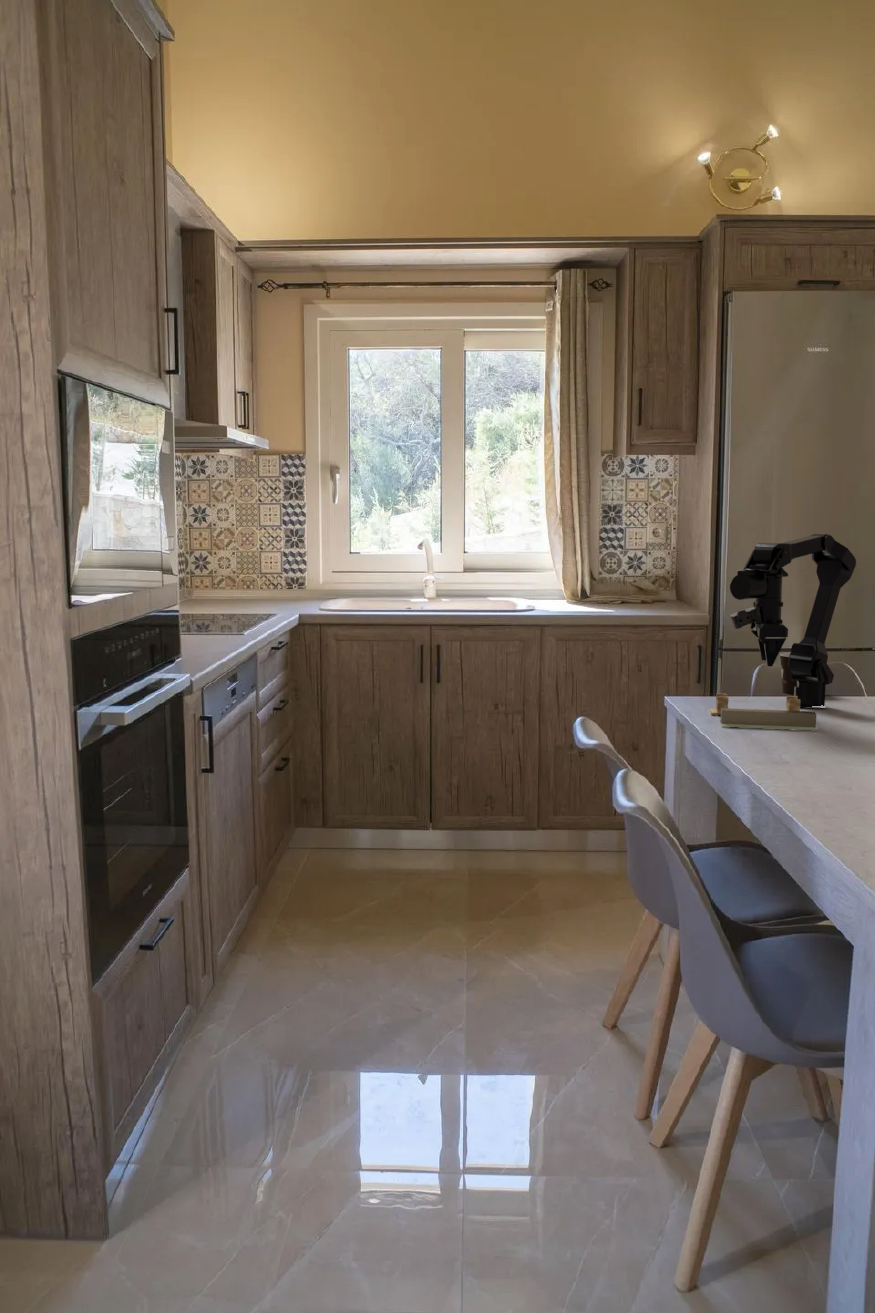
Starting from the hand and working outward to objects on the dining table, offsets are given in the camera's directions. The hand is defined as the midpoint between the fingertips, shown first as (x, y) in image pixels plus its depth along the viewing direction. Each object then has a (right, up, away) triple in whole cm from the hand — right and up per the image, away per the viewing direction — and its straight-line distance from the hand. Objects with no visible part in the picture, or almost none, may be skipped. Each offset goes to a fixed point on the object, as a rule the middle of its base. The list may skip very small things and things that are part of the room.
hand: (766, 663), depth 236 cm
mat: (-4, -14, -13) cm, 19 cm away
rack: (-2, -12, 0) cm, 12 cm away
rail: (-4, -14, -13) cm, 19 cm away
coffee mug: (+19, -8, +32) cm, 38 cm away
